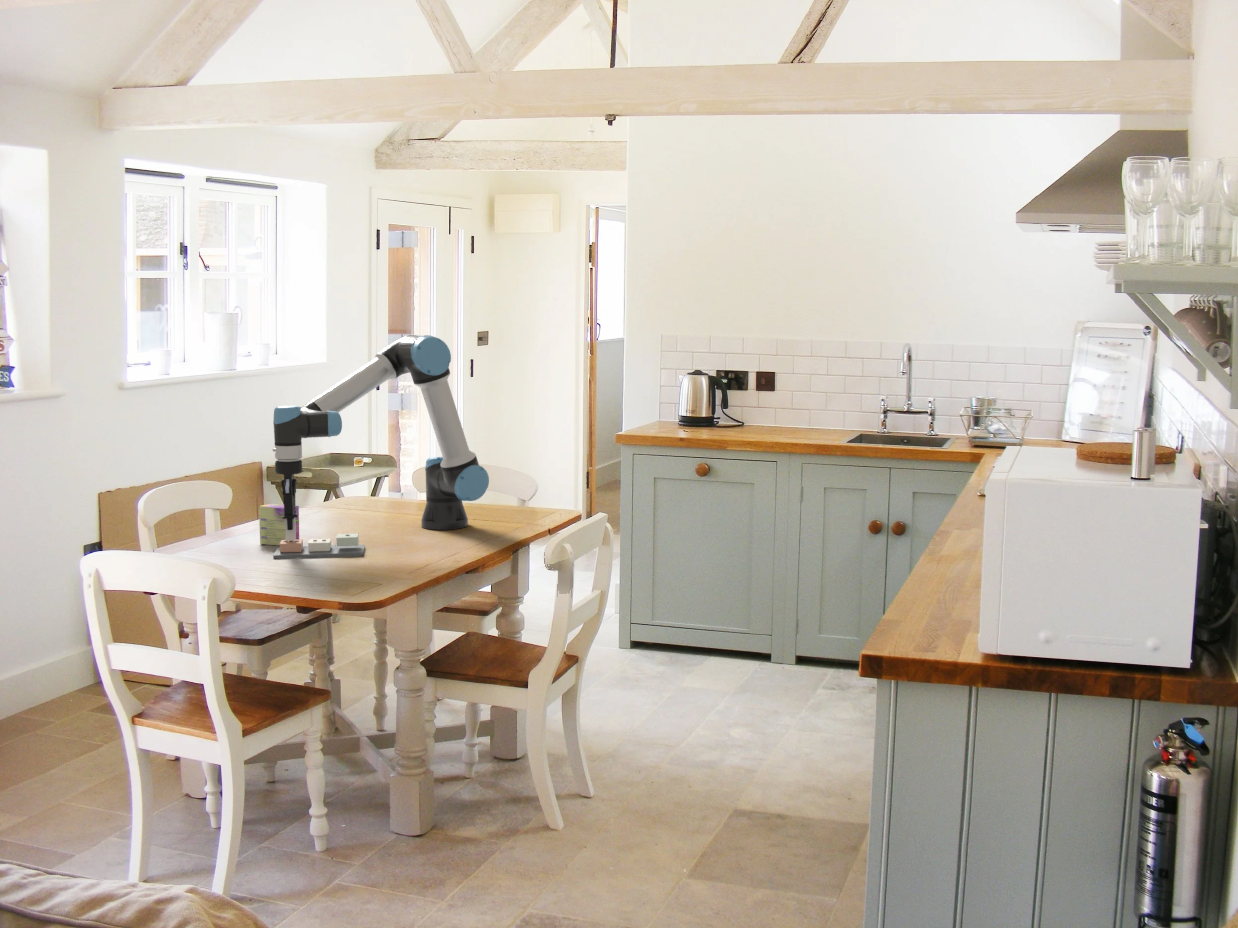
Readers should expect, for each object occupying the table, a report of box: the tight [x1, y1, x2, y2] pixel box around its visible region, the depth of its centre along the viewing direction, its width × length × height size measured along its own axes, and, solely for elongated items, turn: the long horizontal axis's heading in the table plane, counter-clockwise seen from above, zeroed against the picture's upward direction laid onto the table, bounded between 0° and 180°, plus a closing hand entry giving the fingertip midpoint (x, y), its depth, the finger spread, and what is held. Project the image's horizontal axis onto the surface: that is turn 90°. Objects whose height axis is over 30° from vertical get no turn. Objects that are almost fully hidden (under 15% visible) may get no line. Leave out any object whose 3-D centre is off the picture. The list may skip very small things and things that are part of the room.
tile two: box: [307, 538, 332, 552], centre depth 349 cm, size 6×6×3 cm
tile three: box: [279, 538, 304, 552], centre depth 348 cm, size 6×6×3 cm
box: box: [258, 503, 300, 547], centre depth 362 cm, size 10×6×12 cm, turn 71°
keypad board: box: [272, 544, 365, 560], centre depth 349 cm, size 25×12×1 cm, turn 100°
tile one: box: [336, 532, 360, 546], centre depth 350 cm, size 6×6×3 cm
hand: (290, 540), depth 347 cm, fingers closed
